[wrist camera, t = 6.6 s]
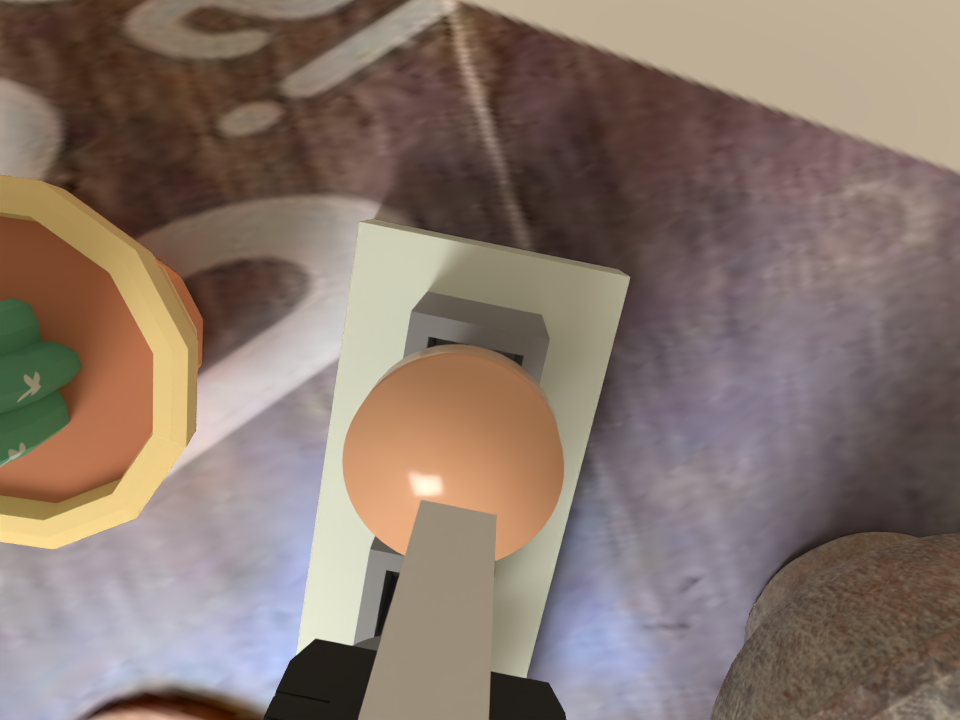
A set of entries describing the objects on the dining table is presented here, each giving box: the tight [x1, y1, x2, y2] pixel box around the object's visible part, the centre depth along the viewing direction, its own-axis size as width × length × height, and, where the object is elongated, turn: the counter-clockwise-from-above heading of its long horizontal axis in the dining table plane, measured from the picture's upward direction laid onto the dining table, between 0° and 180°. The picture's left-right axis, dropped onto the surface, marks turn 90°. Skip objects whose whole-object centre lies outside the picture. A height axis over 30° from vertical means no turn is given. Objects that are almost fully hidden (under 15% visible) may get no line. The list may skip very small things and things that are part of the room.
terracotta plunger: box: [342, 344, 564, 561], centre depth 20 cm, size 6×6×7 cm
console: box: [296, 219, 630, 678], centre depth 30 cm, size 12×30×8 cm, turn 169°
